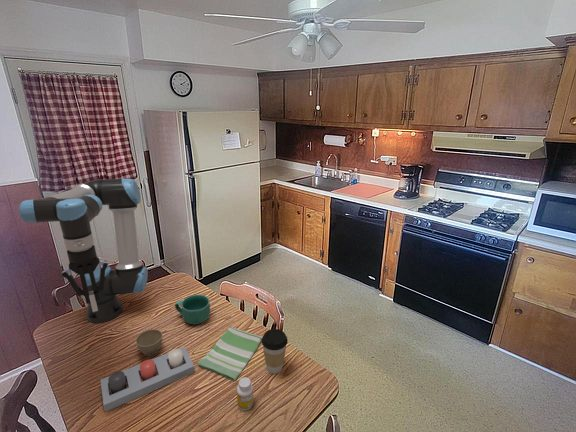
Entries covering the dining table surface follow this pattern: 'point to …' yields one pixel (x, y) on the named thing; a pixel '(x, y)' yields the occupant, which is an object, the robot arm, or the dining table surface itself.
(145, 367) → the button red
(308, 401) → the dining table surface
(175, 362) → the button ivory
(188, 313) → the mug
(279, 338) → the coffee cup
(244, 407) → the supplement bottle
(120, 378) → the button black
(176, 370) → the panel
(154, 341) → the flower pot
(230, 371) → the dish towel
